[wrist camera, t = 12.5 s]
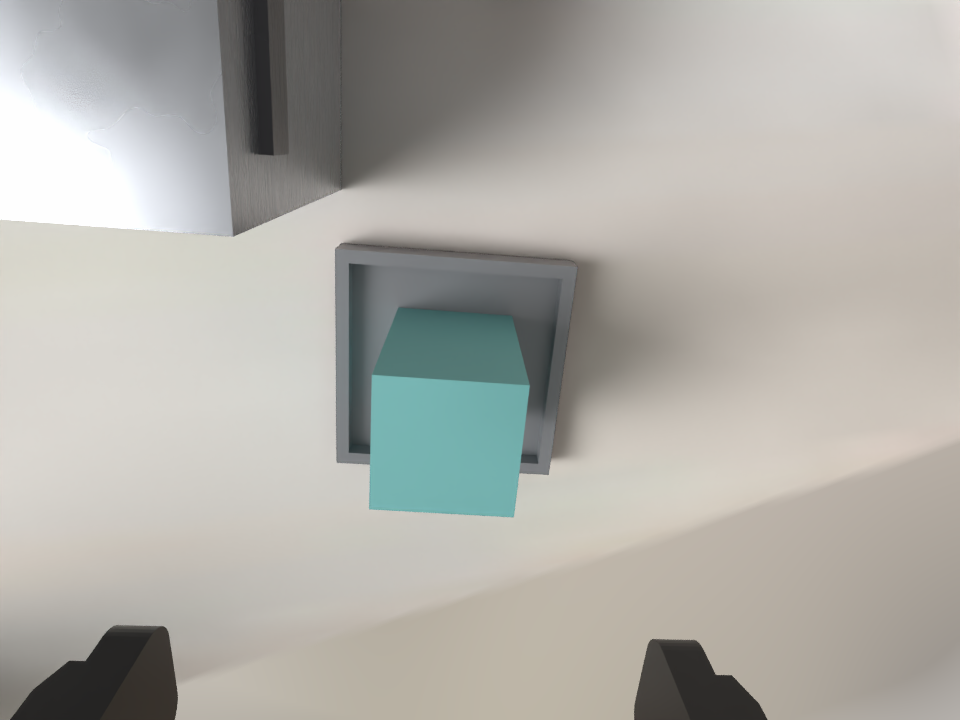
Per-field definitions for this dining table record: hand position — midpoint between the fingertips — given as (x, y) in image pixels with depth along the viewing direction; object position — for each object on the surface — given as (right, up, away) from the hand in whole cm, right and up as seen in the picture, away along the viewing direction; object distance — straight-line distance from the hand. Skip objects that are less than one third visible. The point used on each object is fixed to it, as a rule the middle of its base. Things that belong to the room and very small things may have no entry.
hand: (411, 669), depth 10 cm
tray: (0, +5, +15) cm, 16 cm away
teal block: (0, +5, +14) cm, 15 cm away
